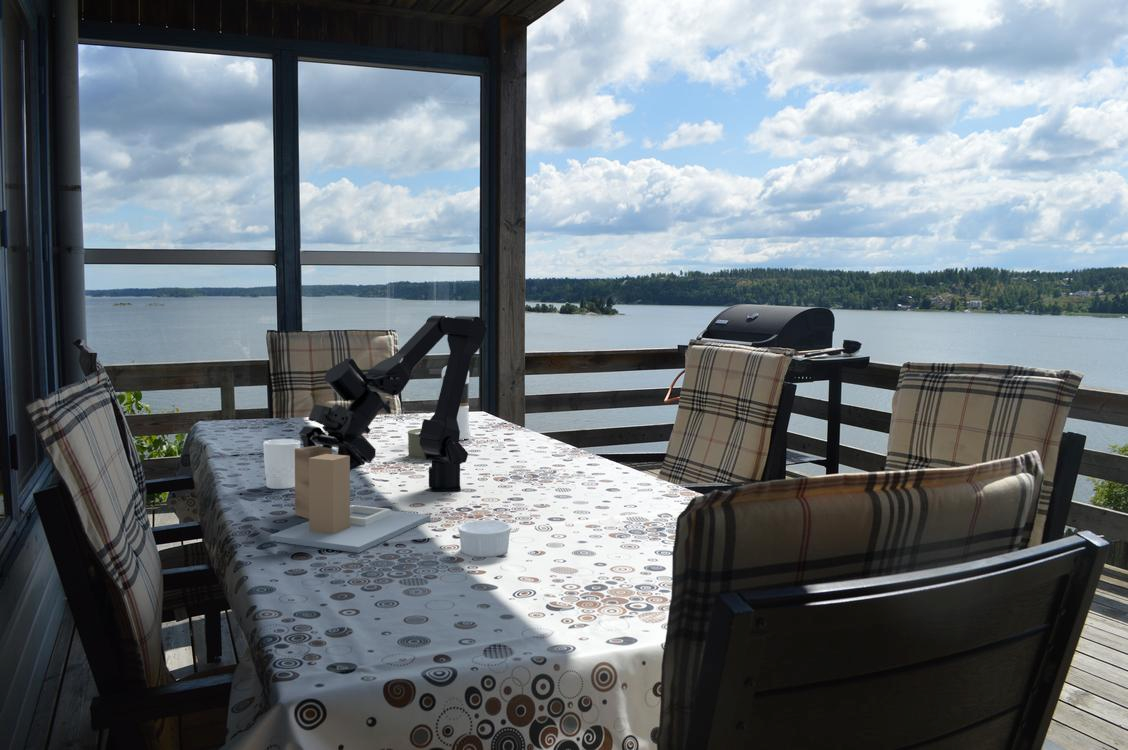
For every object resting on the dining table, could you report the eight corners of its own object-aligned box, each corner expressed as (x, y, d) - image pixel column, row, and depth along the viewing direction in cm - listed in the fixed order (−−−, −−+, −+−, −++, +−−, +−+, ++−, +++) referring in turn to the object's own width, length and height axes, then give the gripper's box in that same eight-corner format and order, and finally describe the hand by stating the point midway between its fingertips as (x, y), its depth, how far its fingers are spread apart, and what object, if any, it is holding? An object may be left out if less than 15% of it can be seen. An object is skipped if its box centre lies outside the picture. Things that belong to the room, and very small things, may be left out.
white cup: (266, 491, 191) (266, 445, 190) (261, 484, 198) (260, 440, 197) (303, 488, 194) (303, 443, 194) (297, 481, 201) (296, 438, 201)
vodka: (475, 439, 267) (476, 340, 264) (448, 442, 261) (449, 341, 259) (461, 435, 274) (461, 339, 272) (434, 437, 269) (434, 339, 266)
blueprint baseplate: (350, 511, 174) (350, 441, 173) (430, 520, 168) (430, 447, 166) (269, 540, 151) (268, 460, 150) (358, 552, 145) (358, 469, 144)
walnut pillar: (317, 510, 174) (317, 445, 173) (332, 514, 171) (331, 448, 170) (295, 514, 170) (294, 448, 169) (309, 519, 167) (309, 451, 166)
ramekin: (489, 562, 142) (490, 535, 141) (447, 553, 146) (447, 527, 146) (521, 549, 149) (521, 524, 149) (479, 541, 154) (479, 517, 154)
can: (461, 455, 239) (461, 430, 238) (432, 462, 229) (432, 436, 228) (427, 451, 245) (428, 426, 245) (398, 457, 235) (398, 431, 235)
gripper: (307, 386, 178) (257, 445, 171) (363, 393, 166) (312, 457, 158) (339, 421, 185) (293, 480, 177) (396, 430, 173) (349, 494, 165)
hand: (310, 477), depth 169 cm, fingers open, 9 cm apart
